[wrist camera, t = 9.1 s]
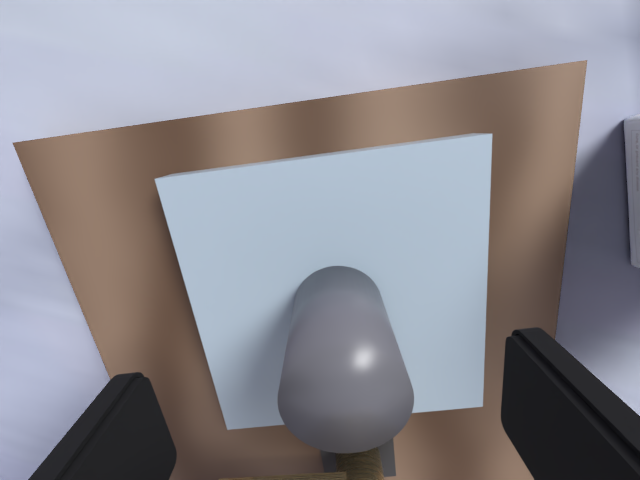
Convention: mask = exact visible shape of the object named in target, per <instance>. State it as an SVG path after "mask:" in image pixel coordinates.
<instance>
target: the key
mask: <svg viewBox="0 0 640 480" xmlns="http://www.w3.org/2000/svg"><path fill="white" fill-rule="evenodd" d="M219 480H384V475H383V469H382V463H381V457H380V452H379V450H378V448H377V447H376V448H373V449H370V450H367V451H363V452H357V453H336V472H328V473H310V474H292V475H274V476H256V477H238V478H220V479H219Z"/></svg>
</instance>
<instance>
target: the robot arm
mask: <svg viewBox="0 0 640 480" xmlns="http://www.w3.org/2000/svg"><path fill="white" fill-rule="evenodd" d="M501 422H502V426H503V428H504V431H505V432H506V434H507V436H508V437H509V439H510V441H511V442H512V444H513V446H514V447H515V449H516V450H517V452H518V454H519V455H520V457H521V459H522V460H523V462H524V463H525V465H526V467H527V468H528V470H529V472H530V473H531V475H532V476H533V478H534V480H640V416H639V415H638V414H637V413H635V412H634V411H633V410H632V409H631V408H630V407H629V406H628V405H627V404H625V403H624V402H623V401H622V400H621V399H620V398H619V397H618V396H617V395H615V394H614V393H613V392H612V391H611V390H610V389H609V388H608V387H606V386H605V385H604V384H603V383H602V382H601V381H600V380H599V379H598V378H596V377H595V376H594V375H593V374H592V373H591V372H590V371H589V370H588V369H586V368H585V367H584V366H583V365H582V364H581V363H580V362H579V361H577V360H576V359H575V358H574V357H573V356H572V355H571V354H570V353H569V352H567V351H566V350H565V349H564V348H563V347H562V346H561V345H560V344H559V343H557V342H556V341H555V340H554V339H553V338H552V337H551V336H550V335H549V334H547V333H546V332H545V331H544V330H543V329H541V328H539V327H534V328H525V329H516V330H513V332H512V334H511V336H509V337H507V338H506V342H505V356H504V372H503V387H502V402H501ZM176 459H177V451H176V448H175V445H174V442H173V440H172V437H171V434H170V432H169V429H168V426H167V424H166V421H165V418H164V416H163V413H162V410H161V408H160V405H159V402H158V400H157V397H156V394H155V392H154V389H153V387H152V384H151V381H150V379H149V378H148V377H144V375H143V374H142V373H141V372H134V373H126V374H118V375H115V376H114V377H113V378H112V379H111V380H110V381H109V383H108V384H107V385H106V386H105V387H104V389H103V390H102V391H101V392H100V393H99V395H98V396H97V397H96V398H95V400H94V401H93V402H92V403H91V404H90V406H89V407H88V408H87V409H86V410H85V412H84V413H83V414H82V415H81V416H80V418H79V419H78V420H77V421H76V423H75V424H74V425H73V426H72V427H71V429H70V430H69V431H68V432H67V433H66V435H65V436H64V437H63V438H62V440H61V441H60V442H59V443H58V444H57V446H56V447H55V448H54V449H53V450H52V452H51V453H50V454H49V455H48V456H47V458H46V459H45V460H44V461H43V463H42V464H41V465H40V466H39V467H38V469H37V470H36V471H35V472H34V473H33V475H32V476H31V477H30V478H29V480H169V478H170V476H171V474H172V471H173V469H174V467H175V464H176Z"/></svg>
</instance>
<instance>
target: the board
mask: <svg viewBox="0 0 640 480" xmlns="http://www.w3.org/2000/svg"><path fill="white" fill-rule="evenodd" d="M586 66H587V60H585V61H578V62H571V63H564V64H557V65H550V66H543V67H536V68H529V69H522V70H515V71H508V72H501V73H494V74H487V75H480V76H474V77H467V78H460V79H453V80H446V81H439V82H432V83H425V84H418V85H411V86H404V87H397V88H390V89H383V90H376V91H369V92H362V93H356V94H349V95H342V96H335V97H328V98H321V99H314V100H307V101H300V102H293V103H286V104H279V105H272V106H265V107H258V108H251V109H244V110H238V111H231V112H224V113H217V114H210V115H203V116H196V117H189V118H182V119H175V120H168V121H161V122H154V123H147V124H140V125H133V126H126V127H120V128H113V129H106V130H99V131H92V132H85V133H78V134H71V135H64V136H57V137H50V138H43V139H36V140H29V141H22V142H15V143H13V145H14V147H15V150H16V152H17V155H18V157H19V160H20V162H21V164H22V167H23V169H24V172H25V174H26V176H27V179H28V181H29V184H30V186H31V189H32V191H33V193H34V196H35V198H36V201H37V203H38V205H39V208H40V210H41V213H42V215H43V218H44V220H45V222H46V225H47V227H48V230H49V232H50V234H51V237H52V239H53V242H54V244H55V247H56V249H57V251H58V254H59V256H60V259H61V261H62V263H63V266H64V268H65V271H66V273H67V276H68V278H69V280H70V283H71V285H72V288H73V290H74V292H75V295H76V297H77V300H78V302H79V305H80V307H81V309H82V312H83V314H84V317H85V319H86V321H87V324H88V326H89V329H90V331H91V334H92V336H93V338H94V341H95V343H96V346H97V348H98V350H99V353H100V355H101V358H102V360H103V363H104V365H105V367H106V370H107V372H108V375H109V377H110V380H111V379H112V378H113V377H114V376H115V375H118V374H126V373H134V372H141V373H142V374H143V375H144V377H148V378H149V379H150V381H151V384H152V387H153V389H154V392H155V394H156V397H157V400H158V402H159V405H160V408H161V410H162V413H163V416H164V418H165V421H166V424H167V426H168V429H169V432H170V434H171V437H172V440H173V442H174V445H175V448H176V451H177V459H176V464H175V467H174V469H173V471H172V474H171V476H170V478H169V480H219V479H220V478H238V477H256V476H274V475H292V474H310V473H328V472H336V453H333V452H327V451H323V450H319V449H317V448H314V447H312V446H310V445H308V444H306V443H304V442H302V441H301V440H299V439H298V438H297V437H296V436H294V435H293V434H292V433H291V432H290V431H289V429H288V428H287V427H286V425H275V426H264V427H253V428H242V429H231V430H227V427H226V423H225V420H224V417H223V413H222V410H221V406H220V403H219V399H218V396H217V392H216V389H215V386H214V382H213V379H212V375H211V372H210V368H209V365H208V361H207V358H206V355H205V351H204V348H203V344H202V341H201V337H200V334H199V331H198V327H197V324H196V320H195V317H194V313H193V310H192V306H191V303H190V300H189V296H188V293H187V289H186V286H185V282H184V279H183V276H182V272H181V269H180V265H179V262H178V258H177V255H176V251H175V248H174V245H173V241H172V238H171V234H170V231H169V227H168V224H167V220H166V217H165V214H164V210H163V207H162V203H161V200H160V196H159V193H158V190H157V186H156V183H155V179H156V178H160V177H163V176H167V175H170V174H175V173H183V172H190V171H198V170H205V169H212V168H220V167H227V166H235V165H242V164H249V163H257V162H264V161H272V160H279V159H286V158H294V157H301V156H309V155H316V154H324V153H331V152H338V151H346V150H353V149H361V148H368V147H375V146H383V145H390V144H398V143H405V142H413V141H420V140H427V139H435V138H442V137H450V136H457V135H464V134H472V133H487V134H492V160H491V188H490V217H489V245H488V274H487V302H486V331H485V359H484V388H483V407H474V408H463V409H452V410H440V411H429V412H418V413H411V416H410V418H409V420H408V422H407V424H406V425H405V426H404V428H403V429H402V430H401V431H400V432H399V433H398V434H397V435H396V436H395V437H394V438H392V439H391V440H389V441H388V442H386V443H385V444H383V445H381V446H378V447H377V448H378V450H379V452H380V457H381V463H382V469H383V475H384V480H534V478H533V476H532V475H531V473H530V472H529V470H528V468H527V467H526V465H525V463H524V462H523V460H522V459H521V457H520V455H519V454H518V452H517V450H516V449H515V447H514V446H513V444H512V442H511V441H510V439H509V437H508V436H507V434H506V432H505V431H504V428H503V426H502V422H501V402H502V387H503V372H504V356H505V342H506V338H507V337H509V336H511V334H512V332H513V330H516V329H525V328H534V327H539V328H541V329H543V330H544V331H545V332H546V333H547V334H549V335H550V336H551V337H552V338H553V339H554V340H555V335H556V327H557V318H558V309H559V301H560V292H561V283H562V275H563V266H564V257H565V249H566V240H567V231H568V223H569V214H570V205H571V196H572V188H573V179H574V170H575V162H576V153H577V144H578V136H579V127H580V118H581V110H582V101H583V92H584V84H585V75H586Z"/></svg>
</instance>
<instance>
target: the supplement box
mask: <svg viewBox="0 0 640 480" xmlns="http://www.w3.org/2000/svg"><path fill="white" fill-rule="evenodd" d="M624 135H625V150H626V169H627V189H628V207H629V230H630V249H631V264H632V266H635V267H637V268H640V114H638V115H635V116H632V117H629V118H626V119H625V120H624Z"/></svg>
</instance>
